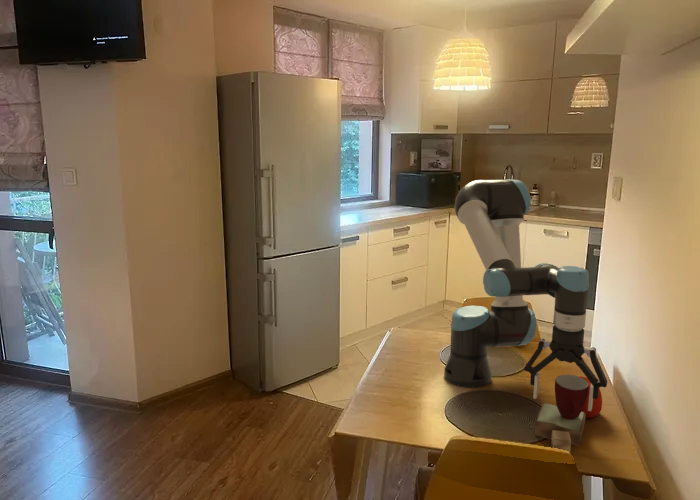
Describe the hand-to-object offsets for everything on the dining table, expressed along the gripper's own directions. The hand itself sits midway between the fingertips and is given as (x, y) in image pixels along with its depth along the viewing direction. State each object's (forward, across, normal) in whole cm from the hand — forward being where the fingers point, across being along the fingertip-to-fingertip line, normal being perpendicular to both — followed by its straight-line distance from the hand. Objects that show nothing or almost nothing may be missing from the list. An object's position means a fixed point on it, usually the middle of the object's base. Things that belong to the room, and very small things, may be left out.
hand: (562, 402), depth 141 cm
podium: (+8, 0, 0) cm, 8 cm away
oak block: (+8, +2, -9) cm, 12 cm away
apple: (+8, +4, +13) cm, 16 cm away
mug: (+4, +2, 0) cm, 5 cm away
